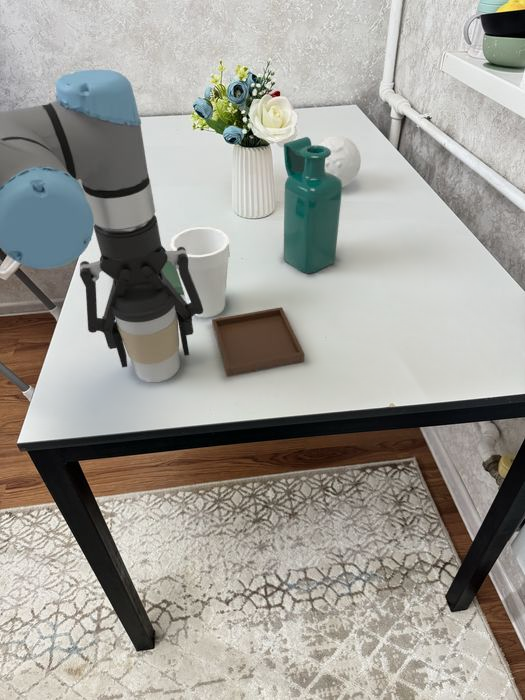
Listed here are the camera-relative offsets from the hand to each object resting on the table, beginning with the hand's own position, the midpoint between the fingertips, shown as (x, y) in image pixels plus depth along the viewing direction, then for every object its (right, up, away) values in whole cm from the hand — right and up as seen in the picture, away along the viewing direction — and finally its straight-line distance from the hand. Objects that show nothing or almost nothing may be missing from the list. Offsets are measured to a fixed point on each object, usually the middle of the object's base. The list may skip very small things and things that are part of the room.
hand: (155, 355), depth 74 cm
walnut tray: (+15, +2, +5) cm, 16 cm away
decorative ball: (+34, +42, +48) cm, 72 cm away
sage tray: (-5, +14, +19) cm, 24 cm away
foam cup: (+6, +8, +13) cm, 17 cm away
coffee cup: (0, -2, +2) cm, 3 cm away
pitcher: (+25, +19, +24) cm, 39 cm away
